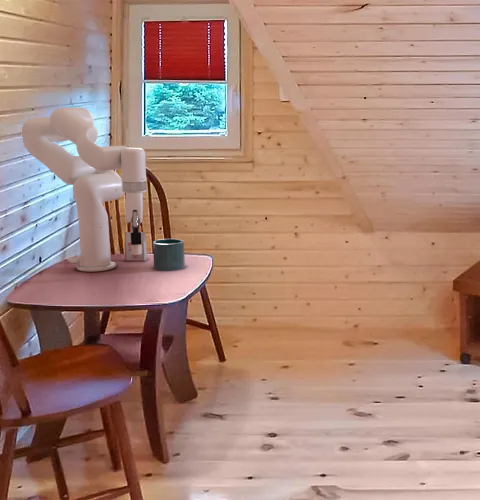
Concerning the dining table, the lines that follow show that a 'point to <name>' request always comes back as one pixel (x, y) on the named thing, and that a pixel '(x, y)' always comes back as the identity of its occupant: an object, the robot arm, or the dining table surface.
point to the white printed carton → (128, 251)
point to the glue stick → (136, 247)
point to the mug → (168, 254)
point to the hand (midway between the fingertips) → (136, 242)
